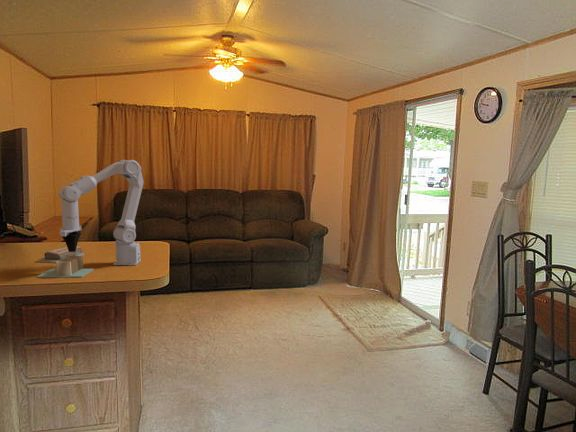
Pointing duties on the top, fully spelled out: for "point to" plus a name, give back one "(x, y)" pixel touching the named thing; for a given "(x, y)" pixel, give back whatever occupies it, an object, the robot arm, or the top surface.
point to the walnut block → (69, 265)
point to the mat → (53, 273)
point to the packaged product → (60, 254)
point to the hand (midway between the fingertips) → (72, 251)
